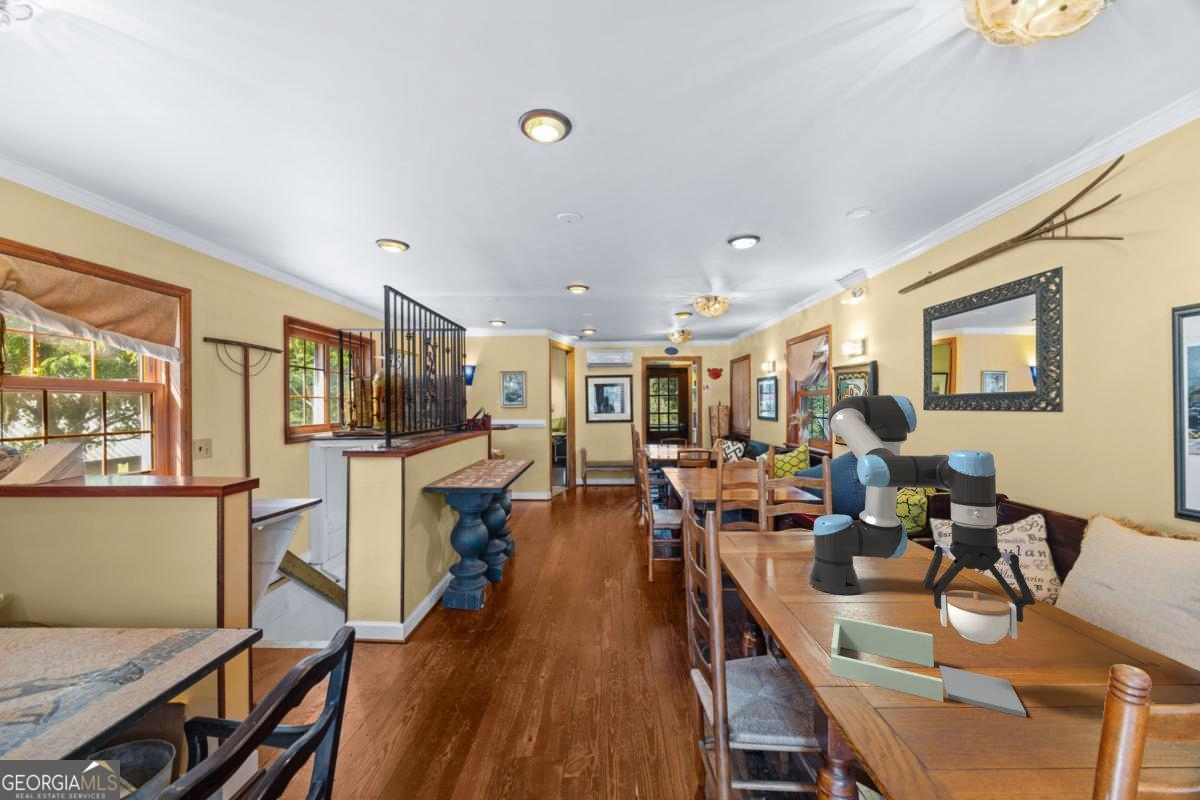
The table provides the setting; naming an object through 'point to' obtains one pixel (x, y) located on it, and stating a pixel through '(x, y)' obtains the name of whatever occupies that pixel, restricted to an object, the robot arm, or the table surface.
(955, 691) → the slate tile
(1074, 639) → the table surface
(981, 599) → the lidded jar
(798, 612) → the table surface
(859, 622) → the frame
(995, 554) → the robot arm
